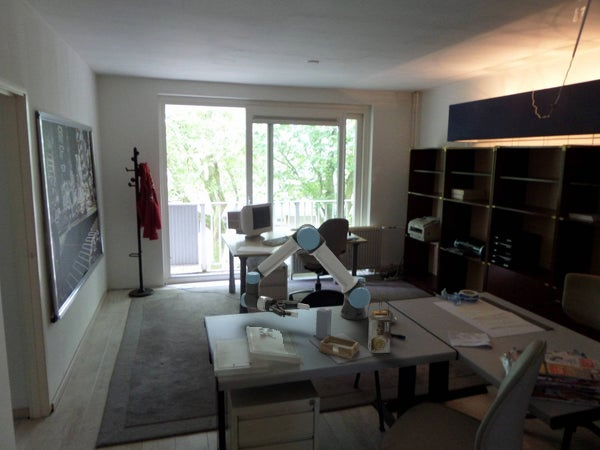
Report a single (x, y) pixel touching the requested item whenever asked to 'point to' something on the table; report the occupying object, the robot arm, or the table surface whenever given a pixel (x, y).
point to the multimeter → (378, 313)
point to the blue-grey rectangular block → (323, 323)
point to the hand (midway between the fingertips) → (303, 311)
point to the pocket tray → (339, 346)
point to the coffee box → (379, 334)
